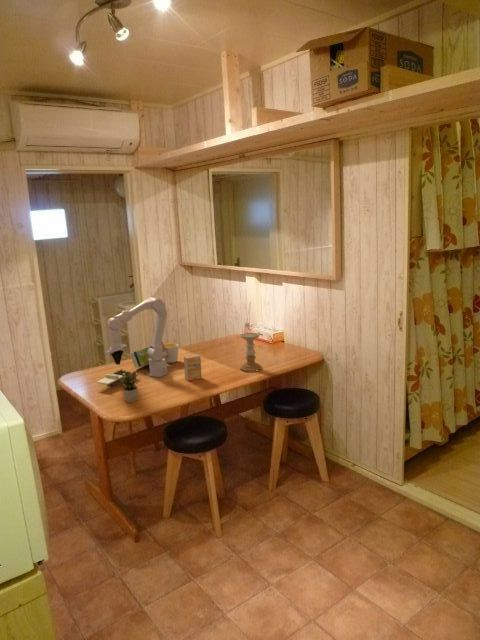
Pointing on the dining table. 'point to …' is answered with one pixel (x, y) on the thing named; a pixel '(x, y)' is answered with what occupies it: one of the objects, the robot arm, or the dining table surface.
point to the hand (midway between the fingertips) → (117, 364)
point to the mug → (171, 352)
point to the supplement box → (192, 367)
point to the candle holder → (250, 353)
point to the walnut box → (122, 378)
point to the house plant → (129, 387)
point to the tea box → (144, 356)
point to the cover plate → (109, 379)
